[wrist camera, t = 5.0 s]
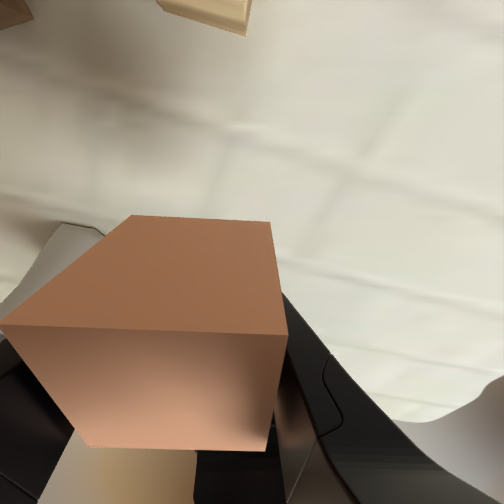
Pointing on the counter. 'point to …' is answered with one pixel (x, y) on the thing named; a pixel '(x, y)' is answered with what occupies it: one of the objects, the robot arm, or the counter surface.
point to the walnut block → (13, 13)
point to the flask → (51, 263)
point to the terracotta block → (162, 335)
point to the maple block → (213, 12)
